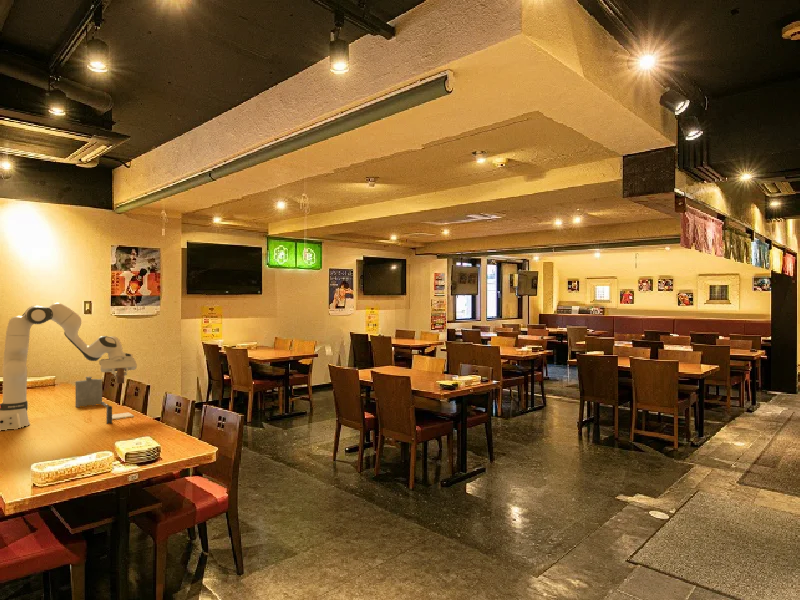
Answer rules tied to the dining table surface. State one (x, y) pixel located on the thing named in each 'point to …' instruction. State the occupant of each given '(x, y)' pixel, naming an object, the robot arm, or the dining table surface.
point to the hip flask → (88, 392)
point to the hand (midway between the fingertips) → (120, 375)
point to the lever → (108, 412)
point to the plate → (121, 415)
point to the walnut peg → (120, 375)
